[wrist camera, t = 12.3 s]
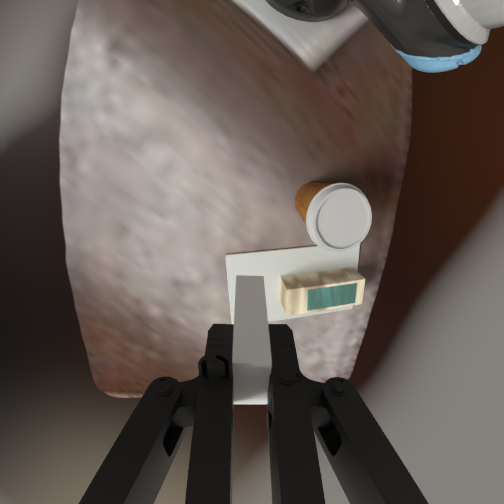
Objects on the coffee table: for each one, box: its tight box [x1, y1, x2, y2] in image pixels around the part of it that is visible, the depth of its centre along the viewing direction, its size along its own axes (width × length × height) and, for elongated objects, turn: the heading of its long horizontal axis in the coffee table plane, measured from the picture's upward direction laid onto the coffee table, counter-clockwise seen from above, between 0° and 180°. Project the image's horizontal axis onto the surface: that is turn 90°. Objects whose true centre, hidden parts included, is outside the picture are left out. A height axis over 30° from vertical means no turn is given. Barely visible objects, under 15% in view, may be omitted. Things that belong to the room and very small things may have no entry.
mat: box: [226, 244, 360, 324], centre depth 55 cm, size 24×14×1 cm, turn 93°
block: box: [280, 267, 365, 316], centre depth 53 cm, size 5×5×14 cm
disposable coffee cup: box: [295, 182, 372, 252], centre depth 44 cm, size 10×10×12 cm
